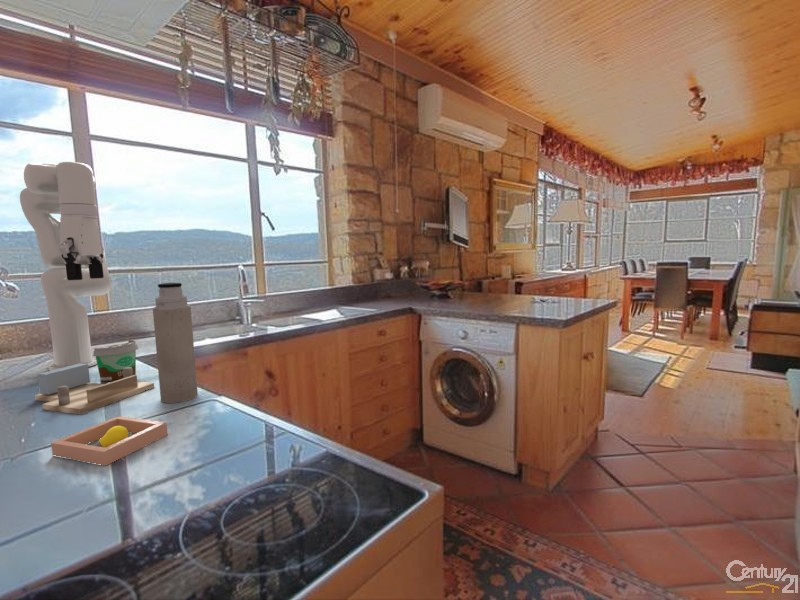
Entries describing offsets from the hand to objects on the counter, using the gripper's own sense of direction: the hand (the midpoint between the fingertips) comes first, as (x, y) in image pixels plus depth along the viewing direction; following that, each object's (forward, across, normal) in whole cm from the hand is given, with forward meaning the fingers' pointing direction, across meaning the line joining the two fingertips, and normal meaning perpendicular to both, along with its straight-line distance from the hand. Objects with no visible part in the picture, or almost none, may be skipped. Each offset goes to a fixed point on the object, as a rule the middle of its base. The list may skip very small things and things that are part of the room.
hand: (86, 279), depth 110 cm
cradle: (+29, +8, +2) cm, 30 cm away
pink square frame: (+30, +40, +23) cm, 55 cm away
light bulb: (+30, +40, +22) cm, 55 cm away
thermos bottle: (+30, +14, +25) cm, 42 cm away
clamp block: (+27, +5, -5) cm, 28 cm away
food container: (+29, -7, +4) cm, 30 cm away
